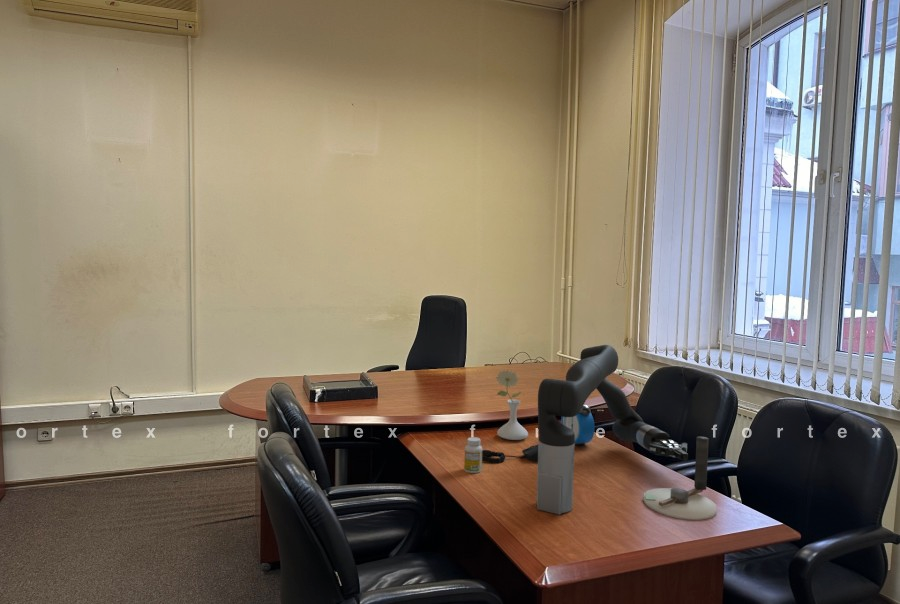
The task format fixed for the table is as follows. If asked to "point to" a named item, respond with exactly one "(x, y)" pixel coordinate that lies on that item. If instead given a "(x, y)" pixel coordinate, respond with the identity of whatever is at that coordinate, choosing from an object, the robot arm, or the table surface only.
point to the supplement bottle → (473, 456)
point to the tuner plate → (680, 505)
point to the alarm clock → (581, 425)
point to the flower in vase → (512, 427)
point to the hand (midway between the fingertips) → (685, 457)
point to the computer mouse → (528, 453)
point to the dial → (700, 475)
